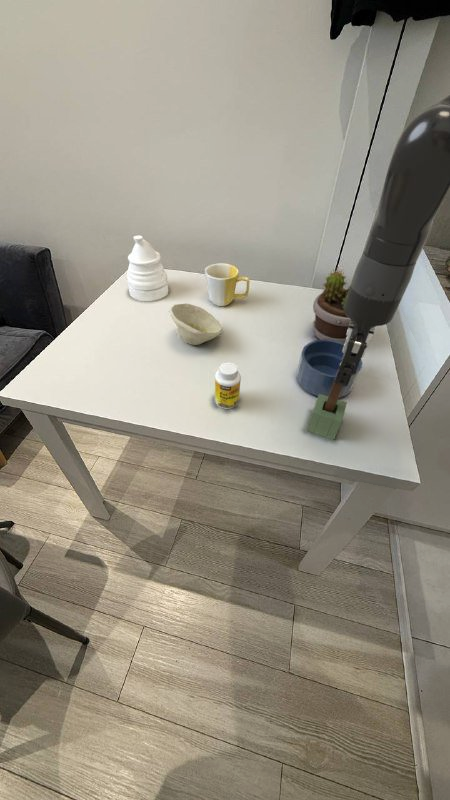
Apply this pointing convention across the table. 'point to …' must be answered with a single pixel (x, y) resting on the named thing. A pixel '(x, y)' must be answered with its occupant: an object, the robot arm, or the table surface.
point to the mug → (223, 283)
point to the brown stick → (333, 396)
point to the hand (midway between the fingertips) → (345, 369)
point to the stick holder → (326, 418)
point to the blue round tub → (322, 367)
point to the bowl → (195, 323)
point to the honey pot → (146, 272)
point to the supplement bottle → (227, 385)
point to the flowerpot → (331, 310)
